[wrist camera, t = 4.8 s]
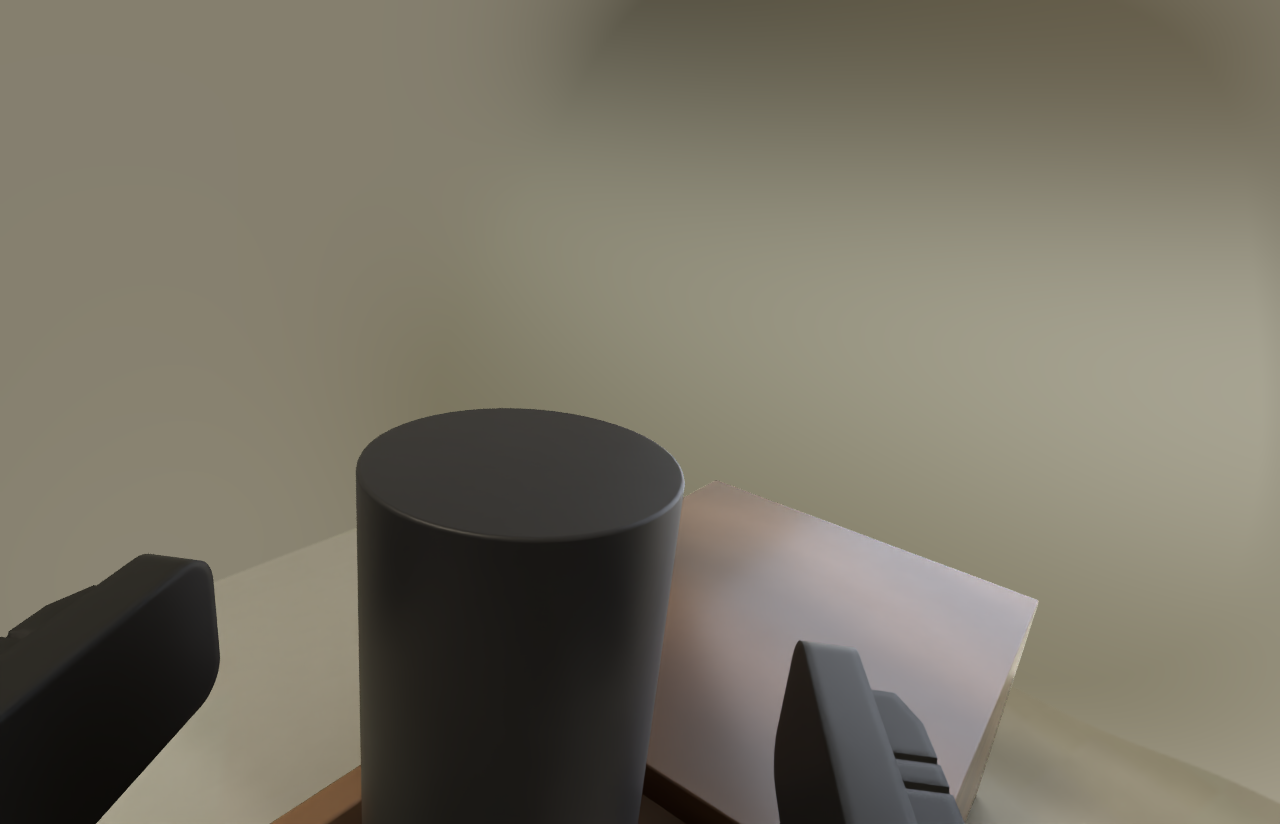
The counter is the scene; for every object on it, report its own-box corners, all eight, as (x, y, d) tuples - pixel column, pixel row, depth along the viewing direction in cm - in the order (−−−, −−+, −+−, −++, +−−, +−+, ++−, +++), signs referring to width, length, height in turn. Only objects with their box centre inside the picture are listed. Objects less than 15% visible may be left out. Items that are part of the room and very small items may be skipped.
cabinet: (817, 1207, 15) (902, 930, 12) (431, 859, 21) (437, 629, 18) (977, 792, 25) (1039, 600, 23) (690, 643, 32) (715, 479, 29)
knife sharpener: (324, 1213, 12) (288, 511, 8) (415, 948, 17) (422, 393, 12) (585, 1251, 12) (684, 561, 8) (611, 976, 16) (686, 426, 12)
